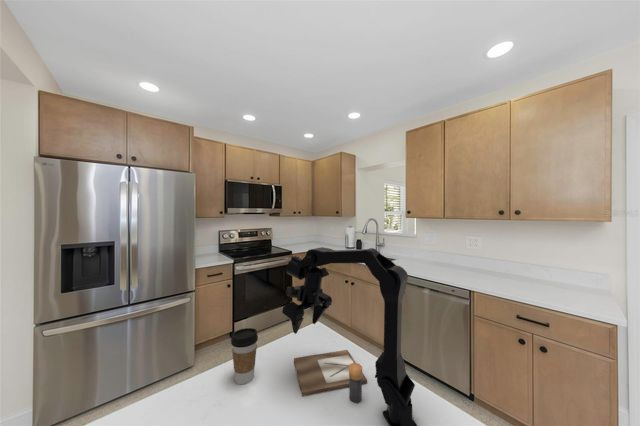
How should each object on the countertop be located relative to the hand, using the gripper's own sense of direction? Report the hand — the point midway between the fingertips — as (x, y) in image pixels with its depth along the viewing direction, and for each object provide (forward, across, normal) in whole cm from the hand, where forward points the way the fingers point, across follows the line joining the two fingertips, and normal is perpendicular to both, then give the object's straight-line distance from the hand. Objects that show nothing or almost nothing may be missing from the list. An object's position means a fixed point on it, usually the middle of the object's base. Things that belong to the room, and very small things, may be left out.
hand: (304, 328), depth 79 cm
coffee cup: (+18, +14, -10) cm, 25 cm away
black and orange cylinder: (+11, -2, +22) cm, 24 cm away
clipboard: (+14, -6, +9) cm, 17 cm away
